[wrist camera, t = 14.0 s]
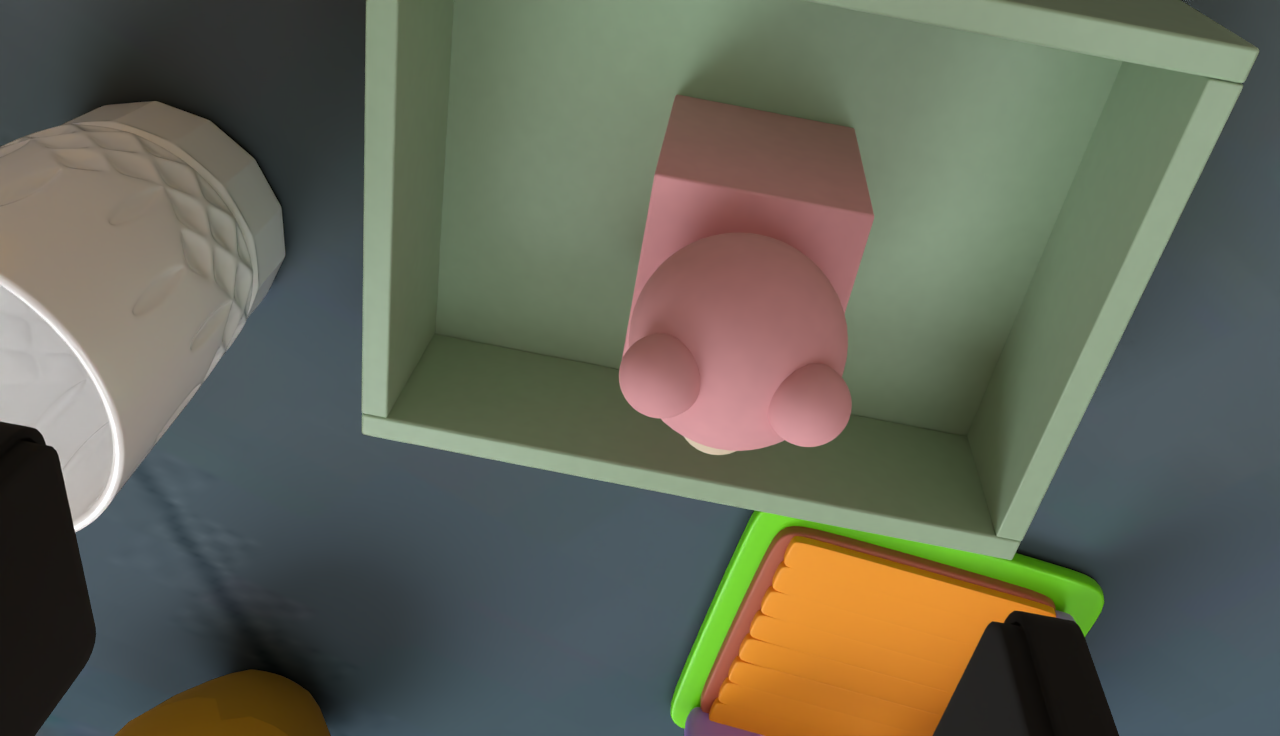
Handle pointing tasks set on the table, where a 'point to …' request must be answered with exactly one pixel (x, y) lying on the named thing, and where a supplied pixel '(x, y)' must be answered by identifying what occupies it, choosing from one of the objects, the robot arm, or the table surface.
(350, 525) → the table surface
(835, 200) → the toy bear
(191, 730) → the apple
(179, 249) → the white cup
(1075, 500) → the table surface
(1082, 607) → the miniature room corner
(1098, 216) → the tub
